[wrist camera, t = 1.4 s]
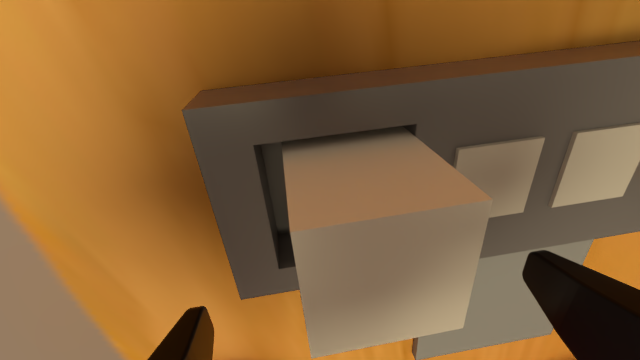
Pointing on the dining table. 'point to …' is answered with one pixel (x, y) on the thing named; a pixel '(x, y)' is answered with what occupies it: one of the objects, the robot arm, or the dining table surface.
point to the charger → (380, 238)
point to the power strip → (437, 147)
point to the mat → (498, 306)
